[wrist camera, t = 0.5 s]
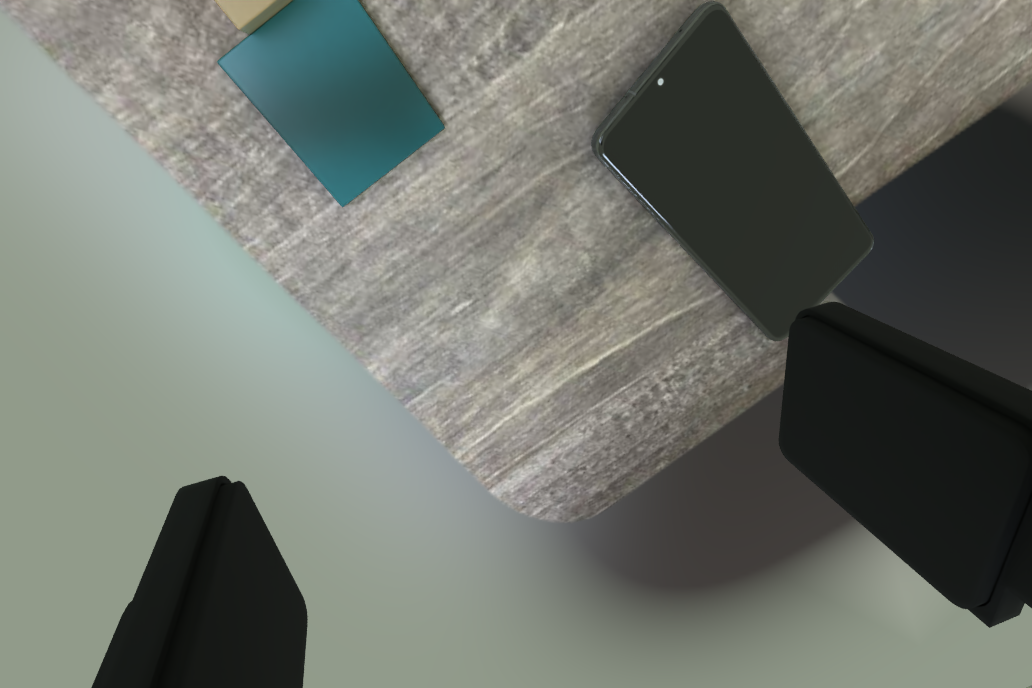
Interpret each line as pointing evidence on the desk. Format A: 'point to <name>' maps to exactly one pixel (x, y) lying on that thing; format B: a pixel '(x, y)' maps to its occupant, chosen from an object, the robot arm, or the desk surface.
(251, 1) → the spatula
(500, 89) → the desk surface
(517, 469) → the desk surface
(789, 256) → the smartphone
